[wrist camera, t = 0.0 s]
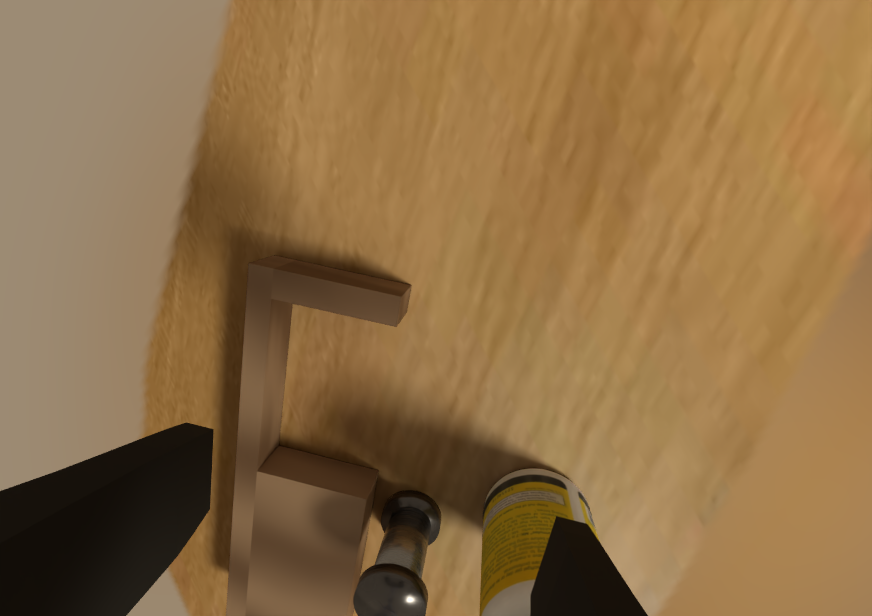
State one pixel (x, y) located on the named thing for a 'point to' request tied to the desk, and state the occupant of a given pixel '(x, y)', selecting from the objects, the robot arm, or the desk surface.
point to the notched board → (297, 455)
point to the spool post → (400, 558)
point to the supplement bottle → (522, 535)
